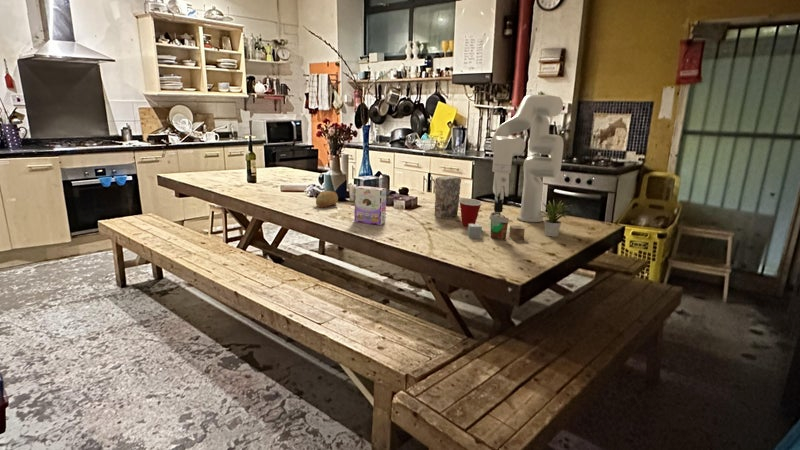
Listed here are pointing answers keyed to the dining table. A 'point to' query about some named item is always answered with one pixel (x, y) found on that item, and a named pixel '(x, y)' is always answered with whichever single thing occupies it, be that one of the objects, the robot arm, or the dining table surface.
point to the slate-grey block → (474, 230)
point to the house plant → (553, 218)
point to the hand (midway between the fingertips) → (498, 211)
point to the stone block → (447, 196)
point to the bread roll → (326, 199)
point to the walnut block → (516, 232)
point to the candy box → (370, 205)
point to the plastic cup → (469, 210)
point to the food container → (498, 226)
